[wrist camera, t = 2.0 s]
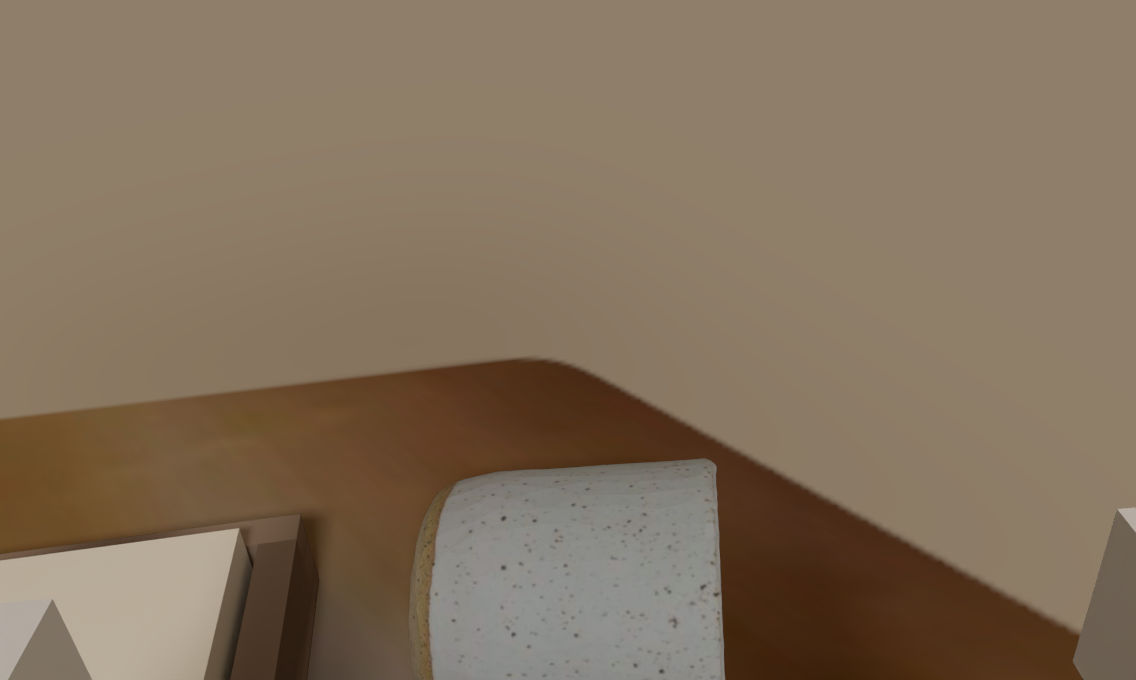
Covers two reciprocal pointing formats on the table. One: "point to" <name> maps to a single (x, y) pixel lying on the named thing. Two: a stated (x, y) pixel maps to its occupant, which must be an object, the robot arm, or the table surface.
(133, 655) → the cream key
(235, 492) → the table surface
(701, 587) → the ceramic mug
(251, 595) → the key pad frame
